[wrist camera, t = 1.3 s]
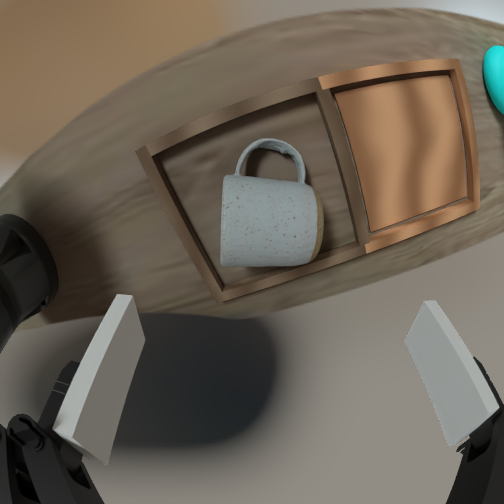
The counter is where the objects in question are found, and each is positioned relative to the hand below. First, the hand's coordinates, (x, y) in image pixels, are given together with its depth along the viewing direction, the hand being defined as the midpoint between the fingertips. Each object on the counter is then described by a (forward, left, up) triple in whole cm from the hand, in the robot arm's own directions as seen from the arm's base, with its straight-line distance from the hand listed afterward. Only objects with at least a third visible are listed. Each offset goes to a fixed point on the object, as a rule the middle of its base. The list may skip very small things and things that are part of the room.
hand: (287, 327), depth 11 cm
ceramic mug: (0, 0, -17) cm, 17 cm away
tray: (+7, +3, -17) cm, 19 cm away
